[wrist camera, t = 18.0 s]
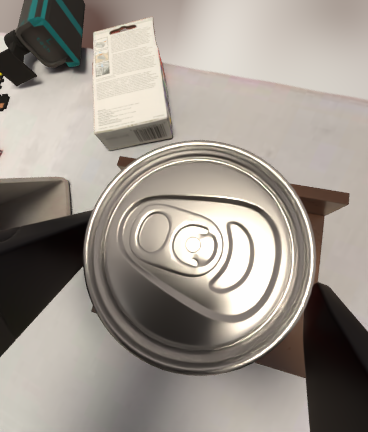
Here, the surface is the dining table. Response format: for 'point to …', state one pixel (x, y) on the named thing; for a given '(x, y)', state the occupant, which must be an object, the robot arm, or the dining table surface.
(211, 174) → the soda can
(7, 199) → the triangle shaped wedge
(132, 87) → the ink box
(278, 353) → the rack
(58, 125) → the dining table surface
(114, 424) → the dining table surface
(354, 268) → the dining table surface
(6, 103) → the pixel art figurine
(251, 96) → the dining table surface
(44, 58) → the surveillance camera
